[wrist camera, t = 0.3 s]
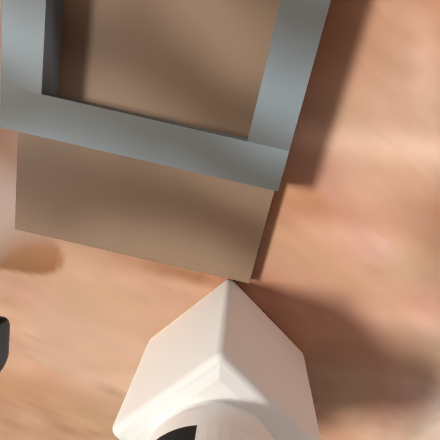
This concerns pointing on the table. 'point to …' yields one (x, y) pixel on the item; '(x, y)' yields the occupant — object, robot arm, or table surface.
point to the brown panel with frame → (155, 121)
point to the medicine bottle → (220, 378)
